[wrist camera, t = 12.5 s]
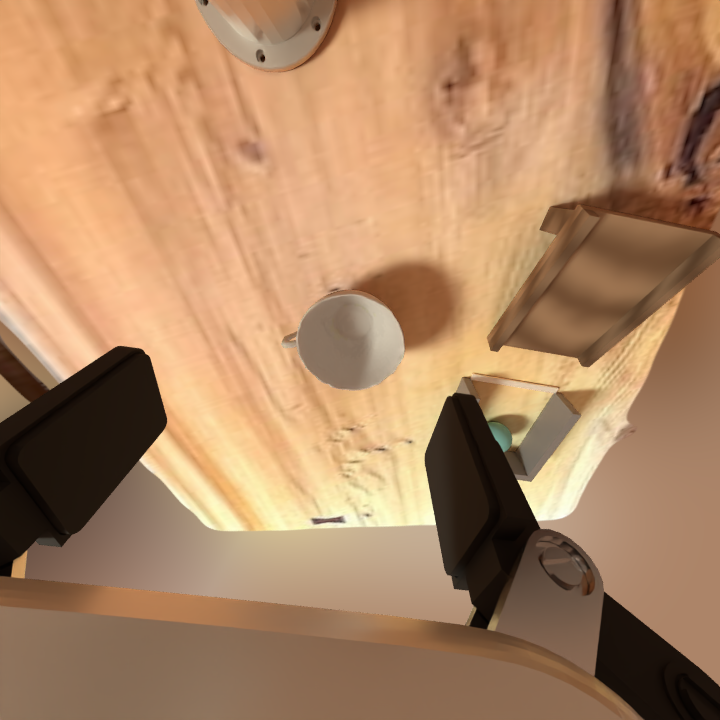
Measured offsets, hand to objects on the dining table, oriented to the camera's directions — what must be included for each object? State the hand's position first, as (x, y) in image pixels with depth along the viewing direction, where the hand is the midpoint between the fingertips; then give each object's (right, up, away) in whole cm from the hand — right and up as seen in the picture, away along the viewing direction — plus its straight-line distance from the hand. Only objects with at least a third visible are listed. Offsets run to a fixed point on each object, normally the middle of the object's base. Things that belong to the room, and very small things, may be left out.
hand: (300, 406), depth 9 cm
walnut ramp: (+28, +11, +28) cm, 41 cm away
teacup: (0, +7, +31) cm, 32 cm away
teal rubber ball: (+24, -9, +39) cm, 47 cm away
